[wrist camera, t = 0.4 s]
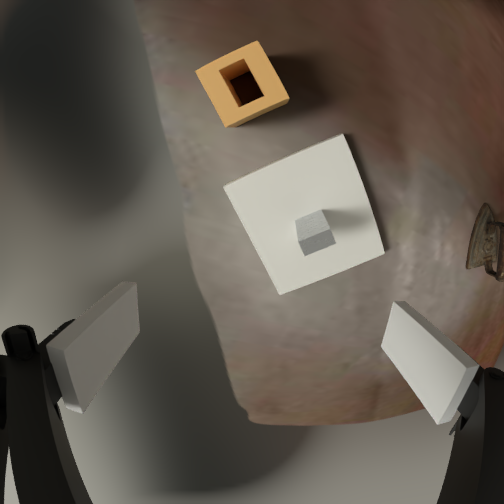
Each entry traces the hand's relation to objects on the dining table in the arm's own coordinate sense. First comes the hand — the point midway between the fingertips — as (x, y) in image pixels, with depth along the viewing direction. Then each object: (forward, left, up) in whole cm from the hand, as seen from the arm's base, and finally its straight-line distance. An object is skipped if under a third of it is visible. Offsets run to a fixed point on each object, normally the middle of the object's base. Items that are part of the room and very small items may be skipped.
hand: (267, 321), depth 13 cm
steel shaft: (-3, +4, -23) cm, 24 cm away
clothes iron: (-30, +18, -25) cm, 43 cm away
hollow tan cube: (-3, -14, -25) cm, 29 cm away
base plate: (-3, +4, -25) cm, 26 cm away
